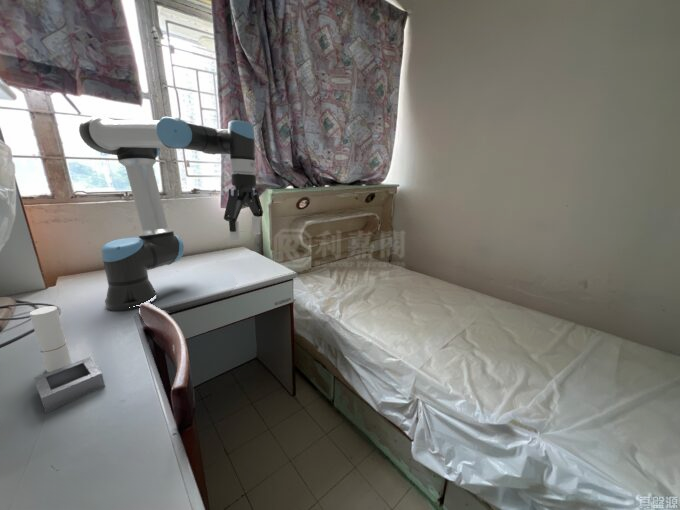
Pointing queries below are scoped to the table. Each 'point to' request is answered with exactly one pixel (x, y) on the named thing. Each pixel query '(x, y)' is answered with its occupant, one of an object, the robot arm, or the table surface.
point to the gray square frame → (68, 383)
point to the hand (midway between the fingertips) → (246, 237)
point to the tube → (50, 337)
